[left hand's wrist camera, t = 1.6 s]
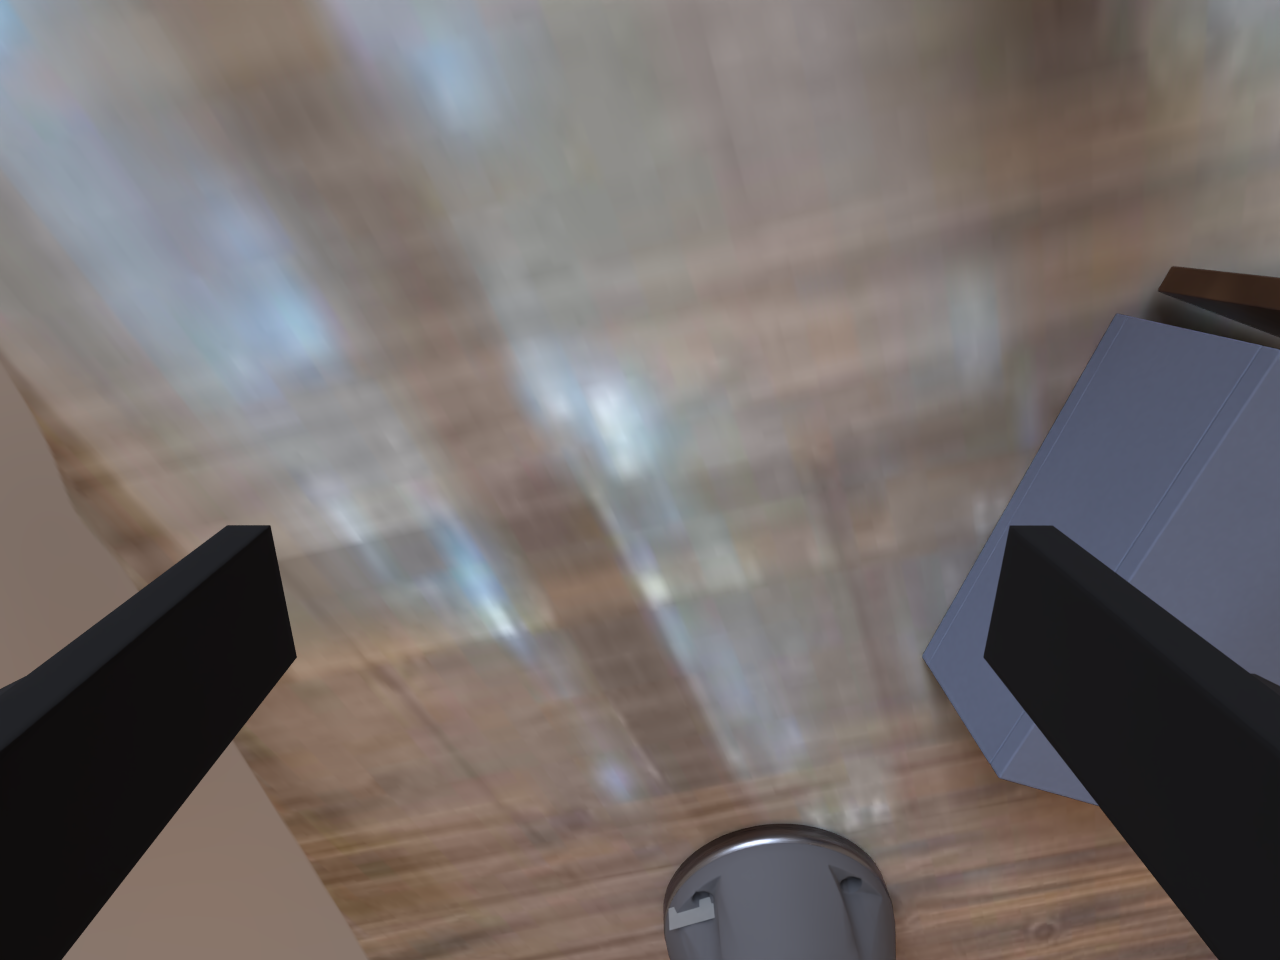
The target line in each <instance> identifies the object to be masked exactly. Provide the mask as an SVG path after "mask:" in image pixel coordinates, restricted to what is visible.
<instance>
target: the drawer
mask: <svg viewBox="0 0 1280 960" xmlns="http://www.w3.org/2000/svg"><path fill="white" fill-rule="evenodd" d="M1158 291H1159V292H1161V293H1164V294H1166V295H1169V296H1172V297H1174V298H1177V299H1180V300H1182V301H1185V302H1188V303H1190V304H1193V305H1196V306H1198V307H1201V308H1203V309H1206V310H1209V311H1211V312H1214V313H1217V314H1219V315H1222V316H1225V317H1227V318H1230V319H1233V320H1235V321H1238V322H1240V323H1243V324H1246V325H1248V326H1251V327H1254V328H1256V329H1259V330H1262V331H1264V332H1267V333H1270V334H1272V335H1275V336H1278V337H1280V278H1277V277H1268V276H1259V275H1249V274H1240V273H1231V272H1222V271H1213V270H1203V269H1194V268H1185V267H1176V266H1172V267H1171V269H1170V270H1169V272H1168V274H1167V275H1166V277H1165V279H1164V281H1163V282H1162V284H1161V286H1160V287H1159V289H1158Z"/></svg>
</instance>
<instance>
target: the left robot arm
mask: <svg viewBox="0 0 1280 960" xmlns="http://www.w3.org/2000/svg"><path fill="white" fill-rule="evenodd" d="M296 658H297V656H296V651H295V646H294V641H293V636H292V631H291V626H290V621H289V616H288V611H287V606H286V601H285V596H284V591H283V586H282V581H281V576H280V571H279V566H278V561H277V556H276V551H275V546H274V541H273V536H272V531H271V526H270V525H227V526H226V527H225V528H223V529H222V530H221V531H219V532H218V533H217V534H215V535H214V536H213V537H211V538H210V539H209V540H207V541H206V542H205V543H203V544H202V545H201V546H199V547H198V548H196V549H195V550H194V551H192V552H191V553H190V554H188V555H187V556H186V557H184V558H183V559H182V560H180V561H179V562H178V563H176V564H175V565H174V566H172V567H171V568H170V569H168V570H167V571H166V572H164V573H163V574H162V575H160V576H159V577H158V578H156V579H155V580H154V581H152V582H151V583H150V584H148V585H147V586H146V587H144V588H143V589H142V590H140V591H139V592H138V593H136V594H135V595H134V596H132V597H131V598H130V599H129V600H127V601H126V602H124V603H123V604H122V605H120V606H119V607H118V608H116V609H115V610H114V611H113V612H111V613H110V614H108V615H107V616H106V617H104V618H103V619H102V620H100V621H99V622H98V623H96V624H95V625H94V626H92V627H91V628H90V629H89V630H87V631H86V632H84V633H83V634H82V635H80V636H79V637H78V638H77V639H75V640H74V641H72V642H71V643H70V644H68V645H67V646H66V647H64V648H63V649H62V650H60V651H59V652H58V653H56V654H55V655H54V656H52V657H51V658H50V659H48V660H47V661H46V662H44V663H43V664H42V665H41V666H39V667H38V668H36V669H35V670H34V671H32V672H31V673H30V674H28V675H27V676H25V677H23V678H21V679H19V680H17V681H15V682H13V683H12V684H9V685H7V686H5V687H3V688H2V689H0V960H62V958H63V957H64V956H65V955H66V953H67V952H68V951H69V949H70V948H71V947H72V946H73V944H74V943H75V942H76V940H77V939H78V938H79V937H80V935H81V934H82V933H83V931H84V930H85V929H86V928H87V926H88V925H89V924H90V922H91V921H92V920H93V919H94V917H95V916H96V915H97V913H98V912H99V911H100V910H101V908H102V907H103V906H104V904H105V903H106V902H107V901H108V899H109V898H110V897H111V895H112V894H113V893H114V892H115V890H116V889H117V888H118V886H119V885H120V884H121V883H122V881H123V880H124V879H125V877H126V876H127V875H128V874H129V872H130V871H131V870H132V868H133V867H134V866H135V865H136V863H137V862H138V861H139V859H140V858H141V857H142V856H143V854H144V853H145V852H146V850H147V849H148V848H149V847H150V845H151V844H152V843H153V841H154V840H155V839H156V838H157V836H158V835H159V834H160V832H161V831H162V830H163V829H164V827H165V826H166V825H167V823H168V822H169V821H170V820H171V818H172V817H173V816H174V814H175V813H176V812H177V811H178V809H179V808H180V807H181V805H182V804H183V803H184V802H185V800H186V799H187V798H188V796H189V795H190V794H191V793H192V791H193V790H194V789H195V787H196V786H197V785H198V784H199V782H200V781H201V780H202V778H203V777H204V776H205V775H206V773H207V772H208V771H209V769H210V768H211V767H212V766H213V764H214V763H215V762H216V760H217V759H218V758H219V757H220V755H221V754H222V753H223V751H224V750H225V749H226V748H227V746H228V745H229V744H230V742H231V741H232V740H233V739H234V737H235V736H236V735H237V733H238V732H239V731H240V730H241V728H242V727H243V726H244V724H245V723H246V722H247V721H248V719H249V718H250V717H251V715H252V714H253V713H254V712H255V710H256V709H257V708H258V706H259V705H260V704H261V703H262V701H263V700H264V699H265V697H266V696H267V695H268V694H269V692H270V691H271V690H272V688H273V687H274V686H275V685H276V683H277V682H278V681H279V679H280V678H281V677H282V676H283V674H284V673H285V672H286V670H287V669H288V668H289V667H290V665H291V664H292V663H293V661H294V660H295V659H296ZM983 658H984V659H985V660H986V661H987V663H988V664H989V665H990V667H991V668H992V669H993V670H994V672H995V673H996V674H997V676H998V677H999V678H1000V679H1001V681H1002V682H1003V683H1004V685H1005V686H1006V687H1007V688H1008V690H1009V691H1010V692H1011V694H1012V695H1013V696H1014V697H1015V699H1016V700H1017V701H1018V703H1019V704H1020V705H1021V706H1022V708H1023V709H1024V710H1025V712H1026V713H1027V714H1028V715H1029V717H1030V718H1031V719H1032V721H1033V722H1034V723H1035V724H1036V726H1037V727H1038V728H1039V730H1040V731H1041V732H1042V733H1043V735H1044V736H1045V737H1046V739H1047V740H1048V741H1049V742H1050V744H1051V745H1052V746H1053V748H1054V749H1055V750H1056V751H1057V753H1058V754H1059V755H1060V757H1061V758H1062V759H1063V760H1064V762H1065V763H1066V764H1067V766H1068V767H1069V768H1070V769H1071V771H1072V772H1073V773H1074V775H1075V776H1076V777H1077V778H1078V780H1079V781H1080V782H1081V784H1082V785H1083V786H1084V787H1085V789H1086V790H1087V791H1088V793H1089V794H1090V795H1091V796H1092V798H1093V799H1094V800H1095V802H1096V803H1097V804H1098V805H1099V807H1100V808H1101V809H1102V811H1103V812H1104V813H1105V814H1106V816H1107V817H1108V818H1109V820H1110V821H1111V822H1112V823H1113V825H1114V826H1115V827H1116V829H1117V830H1118V831H1119V832H1120V834H1121V835H1122V836H1123V838H1124V839H1125V840H1126V841H1127V843H1128V844H1129V845H1130V847H1131V848H1132V849H1133V850H1134V852H1135V853H1136V854H1137V856H1138V857H1139V858H1140V859H1141V861H1142V862H1143V863H1144V865H1145V866H1146V867H1147V868H1148V870H1149V871H1150V872H1151V874H1152V875H1153V876H1154V877H1155V879H1156V880H1157V881H1158V883H1159V884H1160V885H1161V886H1162V888H1163V889H1164V890H1165V892H1166V893H1167V894H1168V895H1169V897H1170V898H1171V899H1172V901H1173V902H1174V903H1175V904H1176V906H1177V907H1178V908H1179V910H1180V911H1181V912H1182V913H1183V915H1184V916H1185V917H1186V919H1187V920H1188V921H1189V922H1190V924H1191V925H1192V926H1193V928H1194V929H1195V930H1196V931H1197V933H1198V934H1199V935H1200V937H1201V938H1202V939H1203V940H1204V942H1205V943H1206V944H1207V946H1208V947H1209V948H1210V949H1211V951H1212V952H1213V953H1214V955H1215V956H1216V957H1217V958H1218V960H1280V686H1279V685H1277V684H1275V683H1273V682H1271V681H1269V680H1267V679H1265V678H1263V677H1261V676H1259V675H1257V674H1250V673H1249V672H1248V671H1246V670H1245V669H1244V668H1242V667H1241V666H1240V665H1238V664H1237V663H1236V662H1234V661H1233V660H1232V659H1230V658H1229V657H1228V656H1226V655H1225V654H1224V653H1222V652H1221V651H1220V650H1218V649H1217V648H1216V647H1214V646H1213V645H1212V644H1210V643H1209V642H1208V641H1206V640H1205V639H1204V638H1202V637H1201V636H1200V635H1198V634H1197V633H1196V632H1194V631H1193V630H1192V629H1190V628H1189V627H1188V626H1186V625H1185V624H1184V623H1182V622H1181V621H1180V620H1178V619H1177V618H1176V617H1174V616H1173V615H1172V614H1170V613H1169V612H1168V611H1166V610H1165V609H1164V608H1162V607H1161V606H1160V605H1158V604H1157V603H1156V602H1154V601H1153V600H1152V599H1150V598H1149V597H1148V596H1146V595H1145V594H1144V593H1142V592H1141V591H1140V590H1138V589H1137V588H1136V587H1134V586H1133V585H1132V584H1130V583H1129V582H1128V581H1126V580H1125V579H1124V578H1122V577H1121V576H1120V575H1118V574H1117V573H1116V572H1114V571H1113V570H1112V569H1110V568H1109V567H1108V566H1106V565H1105V564H1104V563H1102V562H1101V561H1100V560H1098V559H1097V558H1096V557H1094V556H1093V555H1092V554H1090V553H1089V552H1088V551H1086V550H1085V549H1084V548H1082V547H1081V546H1079V545H1078V544H1077V543H1075V542H1074V541H1073V540H1071V539H1070V538H1069V537H1067V536H1066V535H1065V534H1063V533H1062V532H1061V531H1059V530H1058V529H1057V528H1055V527H1054V526H1053V525H1010V526H1009V531H1008V536H1007V541H1006V546H1005V551H1004V556H1003V561H1002V566H1001V571H1000V576H999V581H998V586H997V591H996V596H995V601H994V606H993V611H992V616H991V621H990V626H989V631H988V636H987V641H986V646H985V651H984V656H983ZM663 913H664V934H665V941H666V945H667V950H668V954H669V957H670V960H896V942H895V920H894V914H893V907H892V903H891V899H890V896H889V894H888V891H887V888H886V885H885V882H884V880H883V877H882V875H881V873H880V871H879V869H878V867H877V866H876V864H875V863H874V862H873V860H872V859H871V858H870V857H869V856H868V855H867V854H866V853H865V852H864V851H863V850H862V849H861V848H859V847H858V846H857V845H855V844H854V843H852V842H851V841H849V840H847V839H845V838H843V837H841V836H839V835H837V834H834V833H832V832H829V831H826V830H823V829H819V828H815V827H810V826H804V825H795V824H770V825H761V826H754V827H750V828H745V829H741V830H738V831H735V832H732V833H729V834H726V835H724V836H721V837H719V838H717V839H715V840H713V841H711V842H709V843H708V844H706V845H704V846H703V847H701V848H700V849H699V850H697V851H696V852H694V853H693V854H692V855H691V856H690V857H689V858H687V860H686V861H685V862H684V863H683V864H682V865H681V866H680V867H679V868H678V870H677V871H676V872H675V874H674V876H673V877H672V879H671V881H670V883H669V885H668V887H667V891H666V894H665V898H664V909H663Z"/></svg>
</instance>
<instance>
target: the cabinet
mask: <svg viewBox="0 0 1280 960" xmlns="http://www.w3.org/2000/svg"><path fill="white" fill-rule="evenodd" d="M1010 525H1053V526H1054V527H1055V528H1057V529H1058V530H1059V531H1061V532H1062V533H1063V534H1065V535H1066V536H1067V537H1069V538H1070V539H1071V540H1073V541H1074V542H1075V543H1077V544H1078V545H1079V546H1081V547H1082V548H1084V549H1085V550H1086V551H1088V552H1089V553H1090V554H1092V555H1093V556H1094V557H1096V558H1097V559H1098V560H1100V561H1101V562H1102V563H1104V564H1105V565H1106V566H1108V567H1109V568H1110V569H1112V570H1113V571H1114V572H1116V573H1117V574H1118V575H1120V576H1121V577H1122V578H1124V579H1125V580H1126V581H1128V582H1129V583H1130V584H1132V585H1133V586H1134V587H1136V588H1137V589H1138V590H1140V591H1141V592H1142V593H1144V594H1145V595H1146V596H1148V597H1149V598H1150V599H1152V600H1153V601H1154V602H1156V603H1157V604H1158V605H1160V606H1161V607H1162V608H1164V609H1165V610H1166V611H1168V612H1169V613H1170V614H1172V615H1173V616H1174V617H1176V618H1177V619H1178V620H1180V621H1181V622H1182V623H1184V624H1185V625H1186V626H1188V627H1189V628H1190V629H1192V630H1193V631H1194V632H1196V633H1197V634H1198V635H1200V636H1201V637H1202V638H1204V639H1205V640H1206V641H1208V642H1209V643H1210V644H1212V645H1213V646H1214V647H1216V648H1217V649H1218V650H1220V651H1221V652H1222V653H1224V654H1225V655H1226V656H1228V657H1229V658H1230V659H1232V660H1233V661H1234V662H1236V663H1237V664H1238V665H1240V666H1241V667H1242V668H1244V669H1245V670H1246V671H1248V672H1249V673H1250V674H1257V675H1259V676H1261V677H1263V678H1265V679H1267V680H1269V681H1271V682H1273V683H1275V684H1277V685H1279V686H1280V349H1275V348H1271V347H1266V346H1262V345H1258V344H1253V343H1249V342H1244V341H1240V340H1235V339H1231V338H1226V337H1222V336H1217V335H1212V334H1208V333H1203V332H1199V331H1194V330H1190V329H1185V328H1181V327H1176V326H1172V325H1167V324H1163V323H1158V322H1154V321H1149V320H1145V319H1140V318H1135V317H1131V316H1127V315H1122V314H1116V315H1115V317H1114V319H1113V320H1112V322H1111V324H1110V326H1109V327H1108V329H1107V331H1106V333H1105V334H1104V336H1103V338H1102V340H1101V342H1100V343H1099V345H1098V347H1097V349H1096V350H1095V352H1094V354H1093V356H1092V357H1091V359H1090V361H1089V363H1088V364H1087V366H1086V368H1085V370H1084V372H1083V373H1082V375H1081V377H1080V379H1079V380H1078V382H1077V384H1076V386H1075V387H1074V389H1073V391H1072V393H1071V394H1070V396H1069V398H1068V400H1067V401H1066V403H1065V405H1064V407H1063V409H1062V410H1061V412H1060V414H1059V416H1058V417H1057V419H1056V421H1055V423H1054V424H1053V426H1052V428H1051V430H1050V431H1049V433H1048V435H1047V437H1046V439H1045V440H1044V442H1043V444H1042V446H1041V447H1040V449H1039V451H1038V453H1037V454H1036V456H1035V458H1034V460H1033V461H1032V463H1031V465H1030V467H1029V469H1028V470H1027V472H1026V474H1025V476H1024V477H1023V479H1022V481H1021V483H1020V484H1019V486H1018V488H1017V490H1016V491H1015V493H1014V495H1013V497H1012V499H1011V500H1010V502H1009V504H1008V506H1007V507H1006V509H1005V511H1004V513H1003V514H1002V516H1001V518H1000V520H999V521H998V523H997V525H996V527H995V529H994V530H993V532H992V534H991V536H990V537H989V539H988V541H987V543H986V544H985V546H984V548H983V550H982V551H981V553H980V555H979V557H978V559H977V560H976V562H975V564H974V566H973V567H972V569H971V571H970V573H969V574H968V576H967V578H966V580H965V581H964V583H963V585H962V587H961V588H960V590H959V592H958V594H957V596H956V597H955V599H954V601H953V603H952V604H951V606H950V608H949V610H948V611H947V613H946V615H945V617H944V618H943V620H942V622H941V624H940V626H939V627H938V629H937V631H936V633H935V634H934V636H933V638H932V640H931V641H930V643H929V645H928V647H927V648H926V650H925V652H924V654H923V656H922V657H923V659H924V660H925V662H926V664H927V665H928V667H929V668H930V670H931V671H932V673H933V675H934V676H935V678H936V679H937V681H938V683H939V684H940V686H941V687H942V689H943V691H944V692H945V694H946V695H947V697H948V698H949V700H950V702H951V703H952V705H953V706H954V708H955V710H956V711H957V713H958V714H959V716H960V718H961V719H962V721H963V722H964V724H965V726H966V727H967V729H968V730H969V732H970V733H971V735H972V737H973V738H974V740H975V741H976V743H977V745H978V746H979V748H980V749H981V751H982V753H983V754H984V756H985V757H986V759H987V761H988V762H989V763H990V764H991V766H992V768H993V770H994V771H995V773H996V774H997V776H998V777H999V778H1000V779H1004V780H1008V781H1011V782H1015V783H1018V784H1022V785H1025V786H1029V787H1033V788H1036V789H1040V790H1043V791H1047V792H1050V793H1054V794H1058V795H1061V796H1065V797H1068V798H1072V799H1076V800H1079V801H1083V802H1086V803H1090V804H1093V805H1097V806H1099V805H1098V804H1097V803H1096V802H1095V800H1094V799H1093V798H1092V796H1091V795H1090V794H1089V793H1088V791H1087V790H1086V789H1085V787H1084V786H1083V785H1082V784H1081V782H1080V781H1079V780H1078V778H1077V777H1076V776H1075V775H1074V773H1073V772H1072V771H1071V769H1070V768H1069V767H1068V766H1067V764H1066V763H1065V762H1064V760H1063V759H1062V758H1061V757H1060V755H1059V754H1058V753H1057V751H1056V750H1055V749H1054V748H1053V746H1052V745H1051V744H1050V742H1049V741H1048V740H1047V739H1046V737H1045V736H1044V735H1043V733H1042V732H1041V731H1040V730H1039V728H1038V727H1037V726H1036V724H1035V723H1034V722H1033V721H1032V719H1031V718H1030V717H1029V715H1028V714H1027V713H1026V712H1025V710H1024V709H1023V708H1022V706H1021V705H1020V704H1019V703H1018V701H1017V700H1016V699H1015V697H1014V696H1013V695H1012V694H1011V692H1010V691H1009V690H1008V688H1007V687H1006V686H1005V685H1004V683H1003V682H1002V681H1001V679H1000V678H999V677H998V676H997V674H996V673H995V672H994V670H993V669H992V668H991V667H990V665H989V664H988V663H987V661H986V660H985V659H984V658H983V656H984V651H985V646H986V641H987V636H988V631H989V626H990V621H991V616H992V611H993V606H994V601H995V596H996V591H997V586H998V581H999V576H1000V571H1001V566H1002V561H1003V556H1004V551H1005V546H1006V541H1007V536H1008V531H1009V526H1010Z"/></svg>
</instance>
